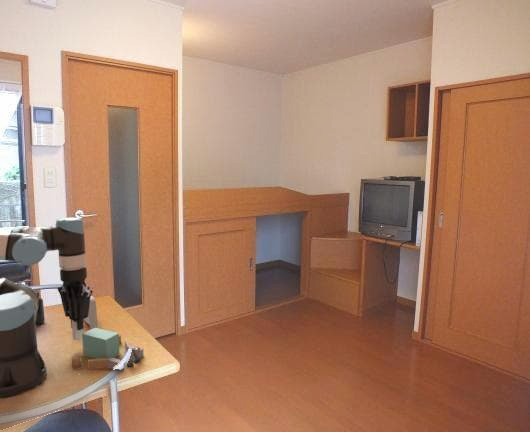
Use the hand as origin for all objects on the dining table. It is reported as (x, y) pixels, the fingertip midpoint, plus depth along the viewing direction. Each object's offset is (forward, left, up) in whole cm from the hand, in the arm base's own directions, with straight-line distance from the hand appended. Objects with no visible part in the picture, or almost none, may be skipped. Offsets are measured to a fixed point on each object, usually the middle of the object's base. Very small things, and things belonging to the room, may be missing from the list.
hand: (78, 338), depth 126 cm
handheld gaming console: (+16, +14, -4) cm, 22 cm away
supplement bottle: (+7, +32, -4) cm, 33 cm away
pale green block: (0, -10, -4) cm, 10 cm away
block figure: (0, -14, -3) cm, 15 cm away
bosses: (0, -23, -3) cm, 23 cm away
